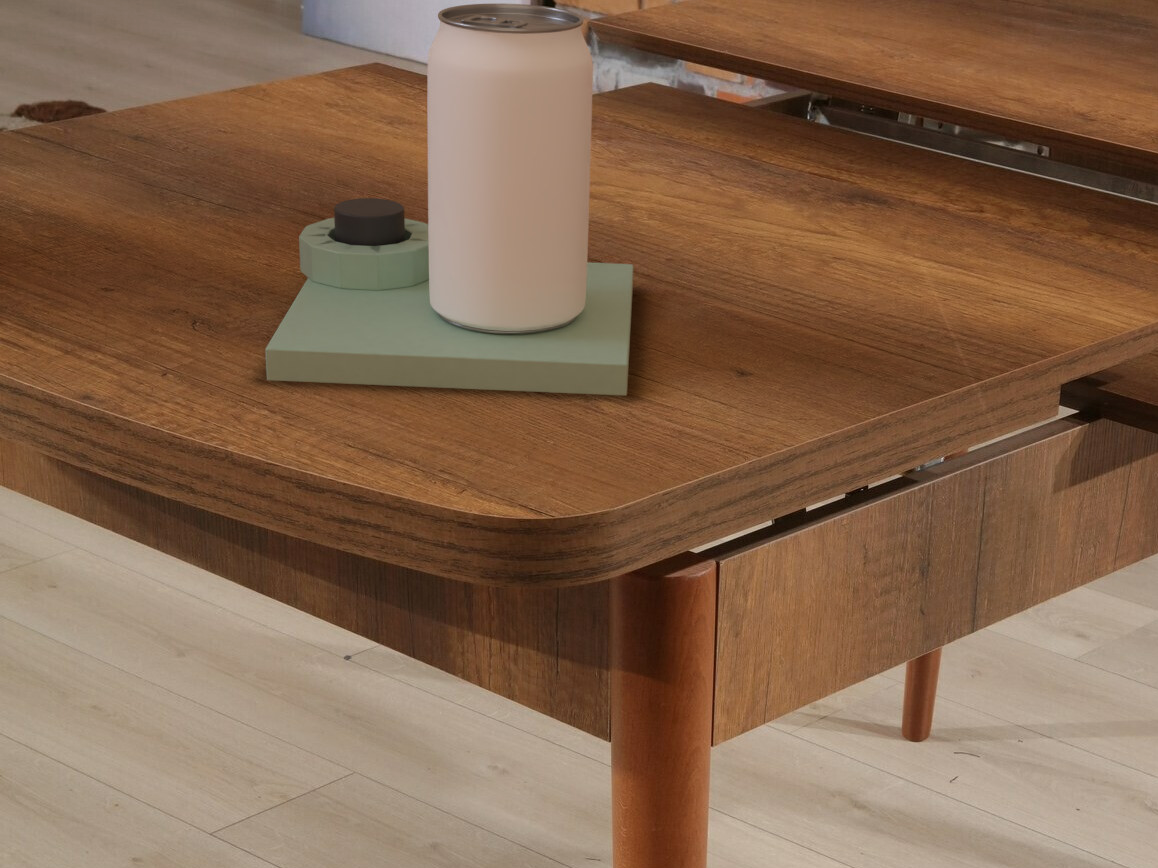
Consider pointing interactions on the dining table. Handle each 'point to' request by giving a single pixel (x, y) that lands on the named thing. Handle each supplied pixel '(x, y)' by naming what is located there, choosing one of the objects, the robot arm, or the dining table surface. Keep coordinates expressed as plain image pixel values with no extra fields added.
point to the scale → (436, 327)
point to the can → (508, 167)
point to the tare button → (369, 222)
